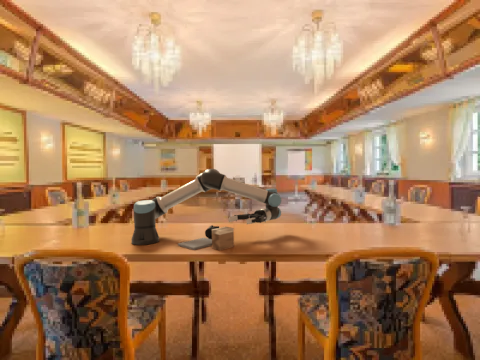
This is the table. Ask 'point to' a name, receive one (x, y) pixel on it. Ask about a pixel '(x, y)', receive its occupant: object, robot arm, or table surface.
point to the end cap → (210, 231)
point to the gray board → (196, 243)
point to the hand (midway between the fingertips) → (237, 220)
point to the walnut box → (222, 238)
